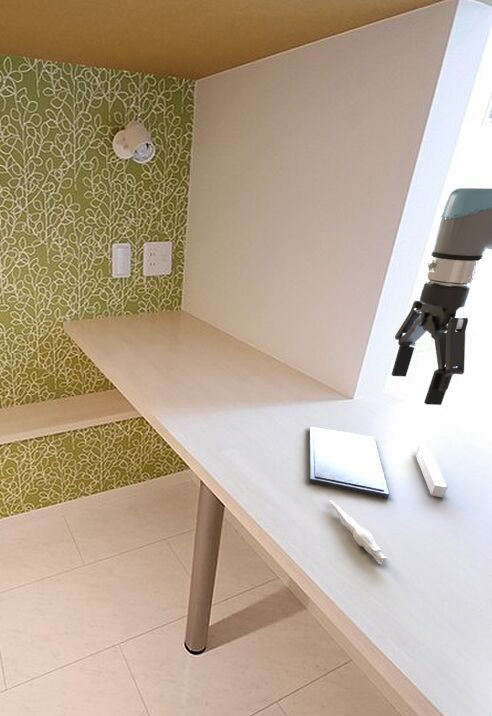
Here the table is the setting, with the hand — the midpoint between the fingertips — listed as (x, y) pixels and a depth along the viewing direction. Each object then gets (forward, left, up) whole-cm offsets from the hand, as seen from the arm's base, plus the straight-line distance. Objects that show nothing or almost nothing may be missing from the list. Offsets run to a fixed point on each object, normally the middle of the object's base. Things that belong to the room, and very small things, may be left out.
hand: (414, 388), depth 88 cm
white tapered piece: (+10, +29, -16) cm, 34 cm away
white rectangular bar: (-6, +6, -16) cm, 18 cm away
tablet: (+10, +6, -16) cm, 20 cm away
